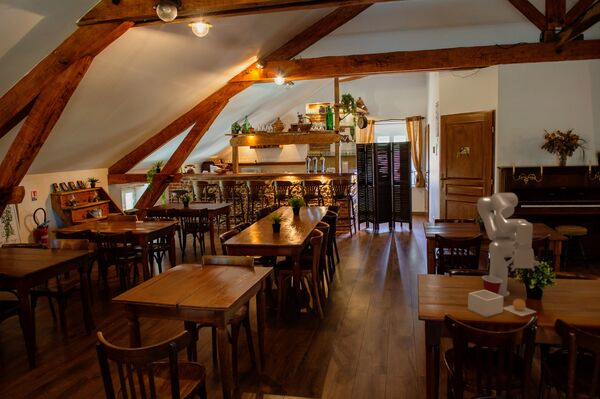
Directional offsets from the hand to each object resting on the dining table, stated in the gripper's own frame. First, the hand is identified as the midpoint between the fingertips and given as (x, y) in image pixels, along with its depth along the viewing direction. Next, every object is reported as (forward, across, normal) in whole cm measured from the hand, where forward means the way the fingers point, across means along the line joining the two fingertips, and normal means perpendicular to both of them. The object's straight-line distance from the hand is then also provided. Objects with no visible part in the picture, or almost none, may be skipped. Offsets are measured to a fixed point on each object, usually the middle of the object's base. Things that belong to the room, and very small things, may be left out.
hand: (521, 277), depth 224 cm
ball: (+18, 0, 0) cm, 18 cm away
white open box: (+18, -18, 0) cm, 26 cm away
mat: (+18, 0, 0) cm, 18 cm away
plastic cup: (+18, -7, +18) cm, 27 cm away
